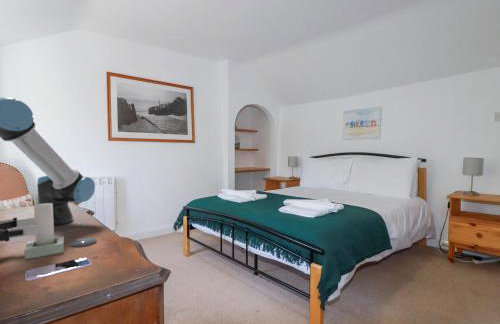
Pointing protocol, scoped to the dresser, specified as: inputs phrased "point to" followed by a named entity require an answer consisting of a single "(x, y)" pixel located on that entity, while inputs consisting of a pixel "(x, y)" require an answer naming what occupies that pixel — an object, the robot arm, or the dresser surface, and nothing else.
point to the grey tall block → (44, 224)
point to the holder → (44, 248)
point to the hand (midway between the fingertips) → (39, 224)
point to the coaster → (83, 242)
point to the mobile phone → (57, 268)
